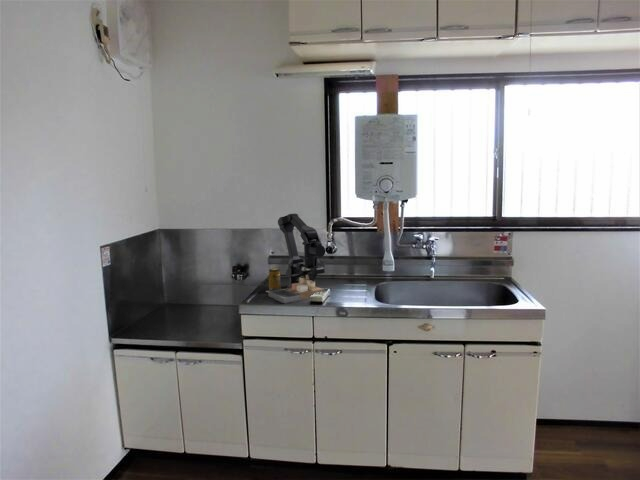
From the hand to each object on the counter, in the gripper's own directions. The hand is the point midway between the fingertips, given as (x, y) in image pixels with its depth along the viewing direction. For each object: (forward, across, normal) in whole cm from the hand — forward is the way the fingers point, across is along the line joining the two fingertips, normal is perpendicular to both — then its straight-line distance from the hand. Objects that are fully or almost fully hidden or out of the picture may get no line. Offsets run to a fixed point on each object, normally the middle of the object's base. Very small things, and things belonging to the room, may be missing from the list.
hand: (310, 284), depth 230 cm
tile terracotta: (+2, +2, +6) cm, 7 cm away
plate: (+5, 0, +3) cm, 6 cm away
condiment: (+5, +14, +13) cm, 20 cm away
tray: (+5, 0, +15) cm, 16 cm away
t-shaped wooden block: (+1, 0, +1) cm, 1 cm away
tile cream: (+2, -2, +6) cm, 7 cm away
